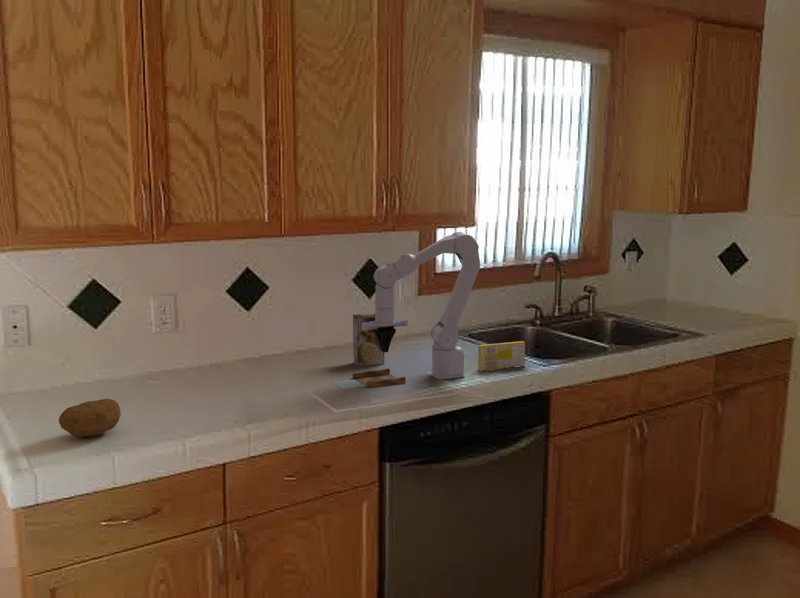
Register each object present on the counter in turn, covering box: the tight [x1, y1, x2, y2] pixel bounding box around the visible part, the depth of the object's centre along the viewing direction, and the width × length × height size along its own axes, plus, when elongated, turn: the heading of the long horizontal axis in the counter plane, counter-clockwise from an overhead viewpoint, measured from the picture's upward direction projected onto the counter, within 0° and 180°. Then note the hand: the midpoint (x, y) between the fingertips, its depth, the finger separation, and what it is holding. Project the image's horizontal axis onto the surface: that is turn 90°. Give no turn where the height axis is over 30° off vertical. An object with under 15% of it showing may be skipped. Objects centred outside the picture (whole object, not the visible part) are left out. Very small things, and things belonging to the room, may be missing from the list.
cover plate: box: [332, 378, 366, 390], centre depth 226 cm, size 7×8×1 cm
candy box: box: [477, 340, 526, 372], centre depth 248 cm, size 16×2×8 cm, turn 112°
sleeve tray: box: [352, 367, 407, 389], centre depth 231 cm, size 12×11×2 cm
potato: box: [58, 398, 122, 438], centre depth 183 cm, size 10×14×8 cm
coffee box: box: [352, 313, 385, 367], centre depth 250 cm, size 9×6×16 cm
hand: (384, 351), depth 234 cm, fingers closed
